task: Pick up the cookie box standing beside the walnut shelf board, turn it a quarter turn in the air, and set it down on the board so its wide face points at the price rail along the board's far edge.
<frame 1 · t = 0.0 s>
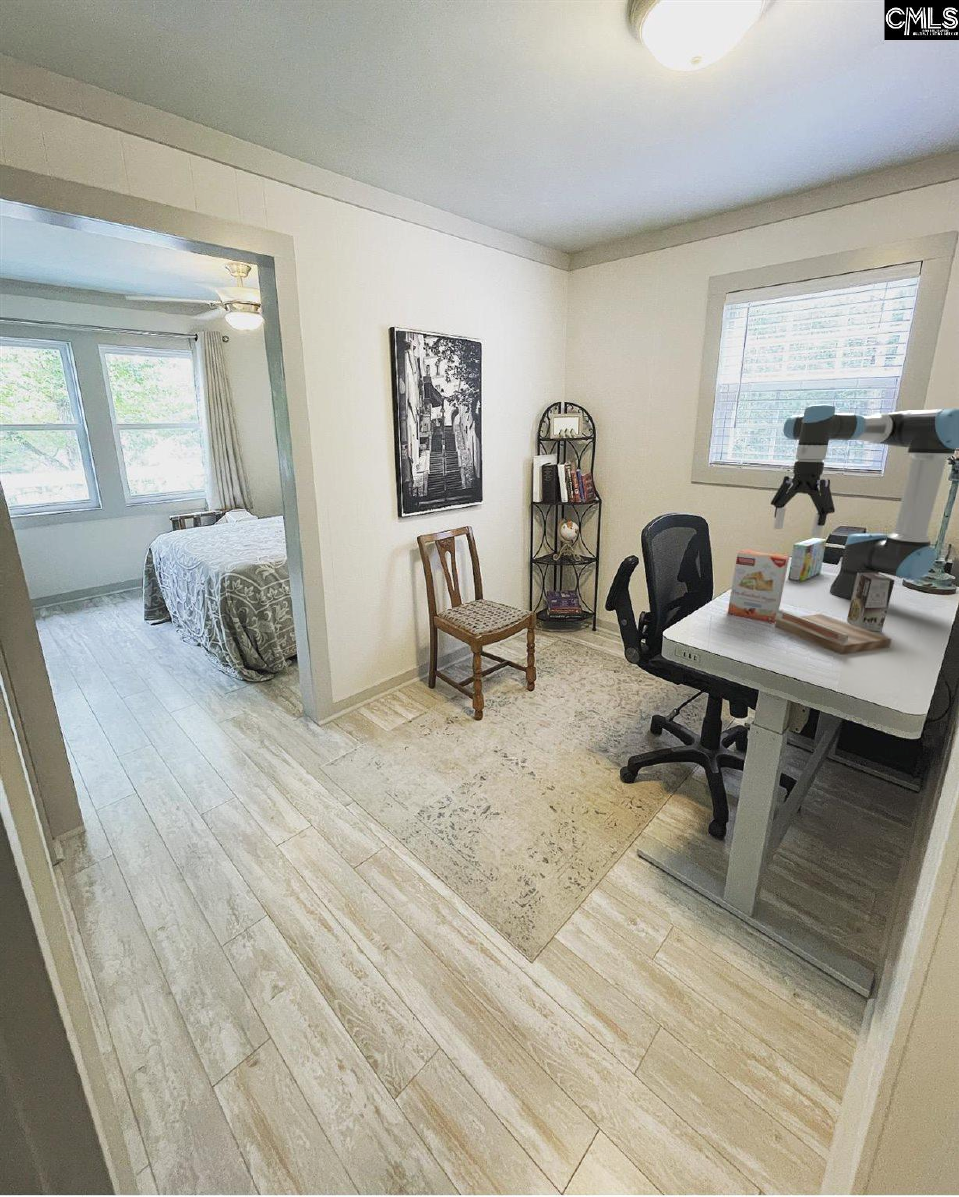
hand: (796, 532, 161), 28 cm above the table, fingers open, 13 cm apart
cracker box: (752, 616, 171), on the table
shelf board: (829, 636, 154), on the table
cookie box: (863, 626, 164), on the table
snack box: (803, 577, 222), on the table
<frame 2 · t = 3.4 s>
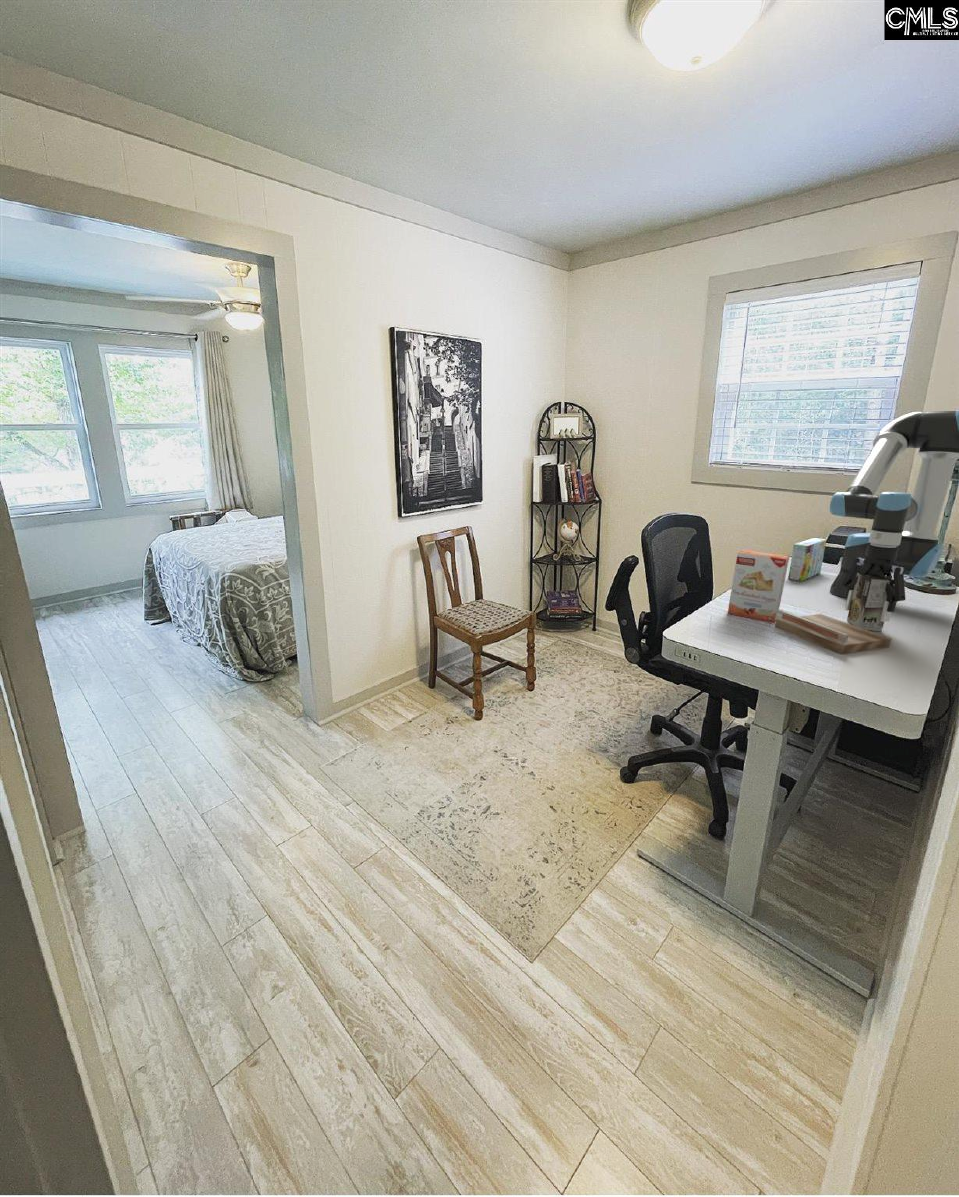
hand: (866, 615, 163), 3 cm above the table, fingers closed on cookie box, 10 cm apart
cookie box: (863, 626, 164), on the table, touching gripper
everything else where it was.
when the fingers open (7 cm above the table, at t = 9.4 s): cookie box drops 1 cm, resting on shelf board.
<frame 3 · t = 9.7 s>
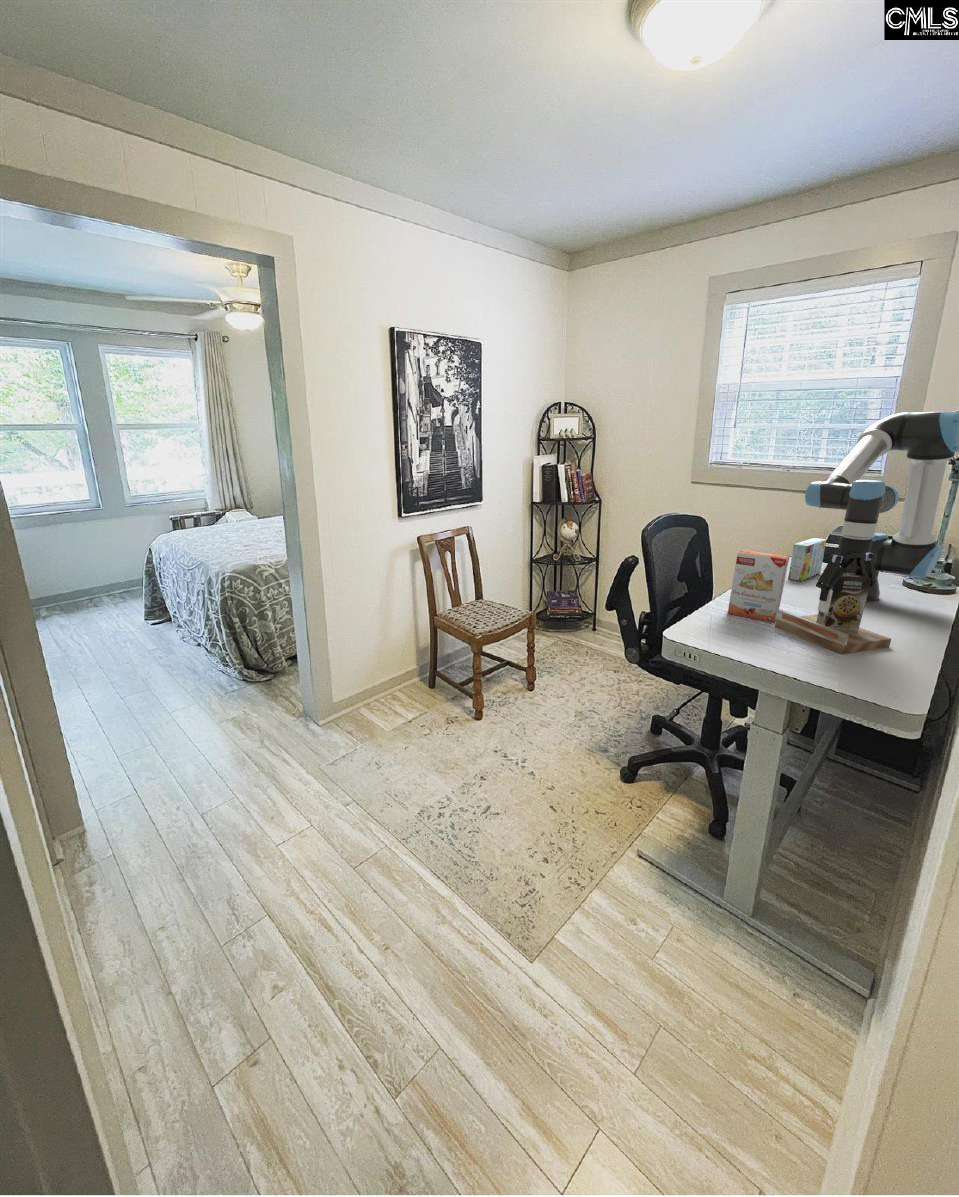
hand: (840, 609, 153), 8 cm above the table, fingers open, 13 cm apart
cookie box: (836, 628, 154), point 2 cm above the table, touching shelf board
everything else where it was.
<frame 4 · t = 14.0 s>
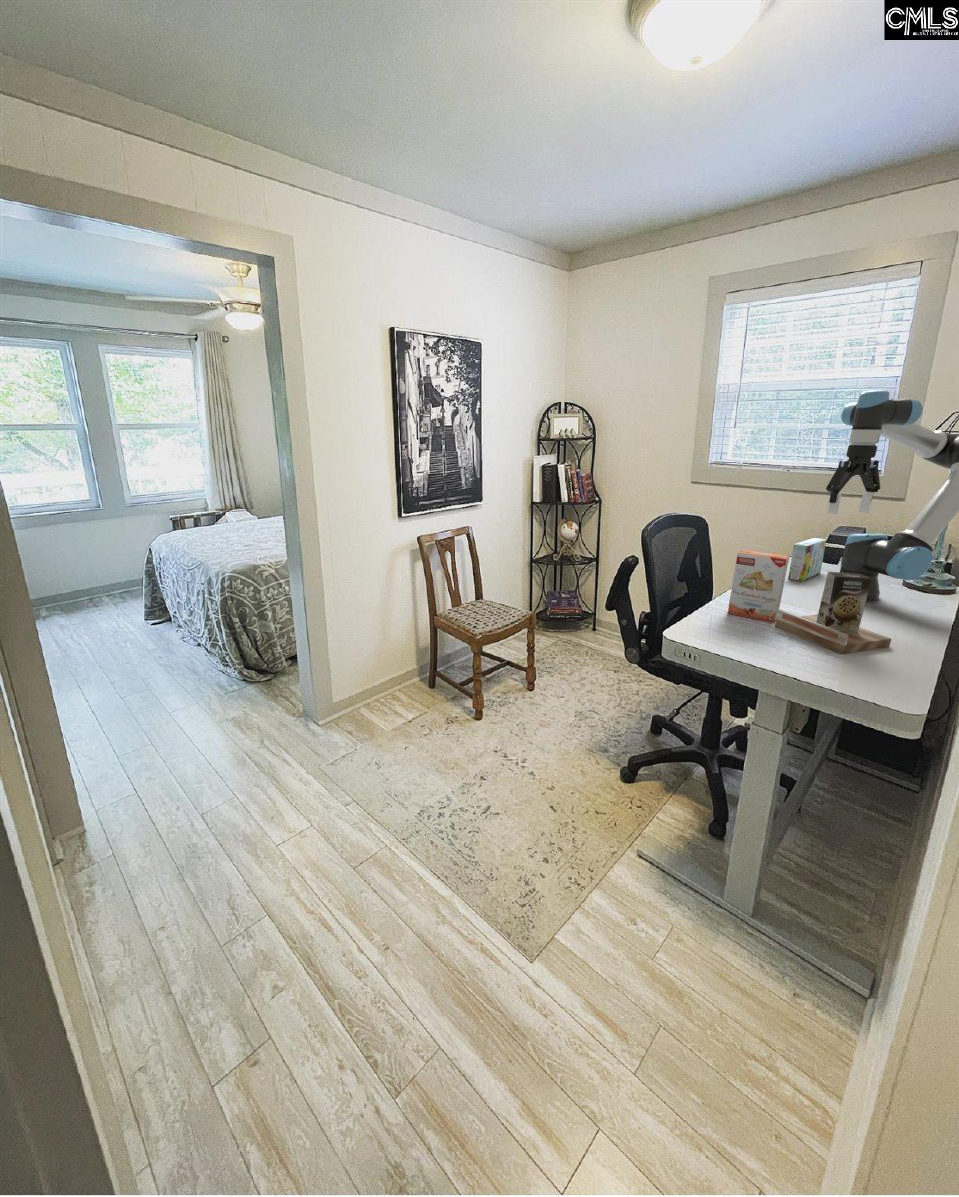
hand: (848, 512, 170), 33 cm above the table, fingers open, 13 cm apart
nothing on the table moved.
at the end: cookie box inside the target area on the shelf board (1.3 cm from its centre), point 2.3 cm above the shelf board's base; cookie box tilted 0°; the gripper is holding nothing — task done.
